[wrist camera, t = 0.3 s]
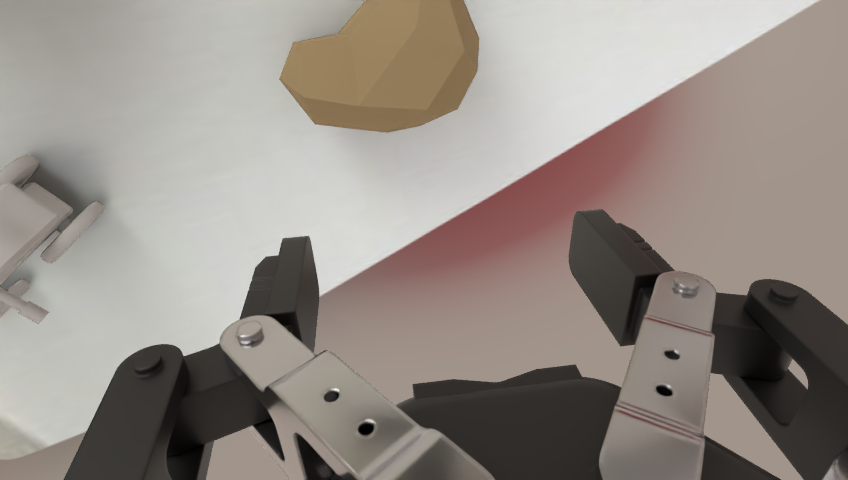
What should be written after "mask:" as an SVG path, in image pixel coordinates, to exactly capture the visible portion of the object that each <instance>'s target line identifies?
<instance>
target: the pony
mask: <svg viewBox="0 0 848 480" xmlns="http://www.w3.org/2000/svg"><path fill="white" fill-rule="evenodd" d="M38 165H39V162H38V160H37V159H36V158H35V157H34V156H32V155H29V154H26V155H24V156H22V157H19V158H17V159H16V160H14V161H13V162H11V163H10V164H9V165H7V166H6V167H5V168H3V169H2V170H1V171H0V285H1V284H2V283H3V282H4V281H5V280H6V279H7V278H8V277H9V276H10V275H11V274H12V272H13V271H14V270H15V269H16V268H17V267H18V266H19V265H20V264H21V263H22V262H23V261H24V260H25V259H26V258H27V257H28V256H29V255H30V254H31V253H32V252H33V251H34V250H35V249H37V248H38V247H39V246H40V245H41V244H42V243H43V242H44V241H45V240H46V239H47V238H48V237H49V236H50V235H51V234H52V233H53V232H55V231H56V230H57V231H59V232H60V234H59V235H58V237H57V238H56V239H55V240H54V241H53V242H52V243H51V244H50V245H49V246H48V247H47V248H46V249H45V250H44V251H43V252H42V254H41V258H42V260H44V261H46V262H47V263H52V262H54V261H56V260H57V259H58V258H59V257H60V256H61V255H62V254H63V253H64V252H65V251H66V250H67V248H68V247H69V246H70V245H71V244H72V243H73V242H74V241H75V240H76V239H77V238H78V237H79V236H80V235H81V234H82V233H83V232H84V231H85V230H86V229H87V228H88V227H89V226H90V225H91V224H92V223H93V222H94V221H95V220H96V219H97V217H98V216H99V215H100V214H101V213H102V212H103V211H104V209H105V208H104V206H103V205H102V204H101V203H99V202H96V201H94V202H93V203H91V204H90V205H89V206H88V207H86V208H85V209H84V210H83V211H82V212H81V213H80V214H79V215H78V216H77V217H76V218H75V219H74V220H73V221H71V220H70V219H68V217H69V216H70V215H71V214H72V213H73V208H72V207H70V206H69V205H67V204H66V203H65V202H63V201H62V200H60V199H59V198H57V197H56V196H54V195H53V194H51V193H50V192H48V191H47V190H45V189H44V188H42V187H41V186H39V185H38V184H36V183H35V182H34V183H28V184H27V185H25V186H24V187H22V188H21V186H22V185H23V184H24V183H25V182H26V181H27V180H28V179H29V178H30V177H31V176H32V174H33V173H34V172H35V170H36V169H37V167H38ZM29 287H30V283H29V282H27V281H26V280H22V279H20V280H19V281H17V282H15V283H14V284H13V285H12V286H11V287H10V288H9V289H8V290H7V291H6V290H4V289H2V288H0V318H1V317H2V315H3V314H4V313H5V312H6V311H7V310H8V309H9V308H10V307H13V308H15V309H17V310H19V312H18V313H19V314H21V315H23V316H25V317H26V318H28V319H30V320H32V321H34V322H36V323H37V324H39V323H40V322H41V321H42V320H43V319H44V317H45V316H46V315H47V314H48V313H49V312H48V311H46V310H44V309H42V308H41V307H39V306H37V305H35V304H34V303H32V302H30V301H29V302H28V303H27V302H25V301H23V300H22V299H20V297H21V296H22V295H23V294H24V293H25V292H26V291H27V290H28V289H29Z"/></svg>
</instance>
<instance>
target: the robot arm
mask: <svg viewBox="0 0 848 480" xmlns="http://www.w3.org/2000/svg"><path fill="white" fill-rule="evenodd" d="M569 265H570V269H571V272H572V274H573V276H574V278H575V279H576V281H577V282H578V284H579V285H580V287H581V288H582V289H583V291H584V293H585V294H586V296H587V297H588V299H589V300H590V302H591V303H592V304H593V306H594V307H595V309H596V310H597V312H598V313H599V315H600V316H601V318H602V319H603V321H604V322H605V324H606V325H607V327H608V328H609V330H610V331H611V333H612V334H613V336H614V337H615V339H616V340H617V342H618V343H619V344H620V346H627V345H635V347H634V350H633V353H632V356H631V360H630V362H629V366H628V369H627V372H626V375H625V379H624V382H623V385H622V388H621V387H619V386H617V385H614V384H611V383H609V382H606V381H602V380H598V379H594V378H587V377H582V376H581V374H580V372H579V370H578V369H577V366H576V365H568V366H560V367H552V368H543V369H536V370H533V371H530V372H527V373H524V374H522V375H519V376H516V377H513V378H510V379H507V380H505V381H502V382H494V383H493V382H481V381H468V380H455V379H452V380H445V381H436V382H427V383H419V384H413V395H414V397H413V398H410V399H408V400H405V401H403V402H401V403H399V404H397V405H395V404H393V403H392V402H391V401H390V400H389V399H387V398H386V397H385V396H384V395H383V394H381V393H380V392H379V391H378V390H377V389H376V388H374V387H373V386H372V385H371V384H370V383H368V382H367V381H366V380H365V379H363V378H362V377H361V376H360V375H359V374H358V373H356V372H355V371H354V370H353V369H352V368H350V367H349V366H348V365H347V364H346V363H344V362H343V361H342V360H341V359H340V358H339V357H337V356H336V355H335V354H334V353H332V352H331V351H328V350H325V351H323V352H321V353H320V354H318V355H316V354H314V347H315V337H316V327H317V316H318V306H319V286H318V279H317V273H316V268H315V262H314V257H313V251H312V246H311V241H310V238H309V236H304V237H293V238H283V240H282V243H281V248H280V252H279V256H269V257H265V258H264V259H263V260H262V261H261V262H260V263H259V264H258V266H257V267H256V268H255V271H254V274H253V277H252V281H251V284H250V287H249V290H248V294H247V297H246V300H245V303H244V307H243V310H242V313H241V317H240V320H238V321H236V322H234V323H233V324H231V325H230V326H228V327H227V328H226V329H225V330H224V332H223V333H222V335H221V337H220V343H219V344H217V345H215V346H213V347H211V348H208V349H205V350H202V351H199V352H196V353H193V354H190V355H187V356H184V357H183V354H182V352H181V350H180V349H179V348H178V347H176V346H173V345H168V344H161V345H154V346H150V347H147V348H144V349H142V350H139V351H137V352H135V353H134V354H132V355H131V356H129V357H128V358H127V359H125V360H124V361H123V362H122V363H121V364H120V365H119V367H118V368H117V370H116V372H115V374H114V376H113V378H112V380H111V382H110V384H109V386H108V388H107V390H106V393H105V395H104V397H103V399H102V401H101V403H100V405H99V407H98V409H97V411H96V413H95V415H94V418H93V420H92V422H91V424H90V426H89V428H88V430H87V432H86V434H85V436H84V438H83V440H82V443H81V445H80V447H79V449H78V451H77V453H76V455H75V457H74V459H73V461H72V463H71V466H70V468H69V470H68V472H67V474H66V476H65V478H64V480H206V476H207V471H208V466H209V462H210V457H211V452H212V447H213V443H214V440H217V439H219V438H222V437H224V436H227V435H229V434H232V433H234V432H237V431H240V430H242V429H245V428H247V427H248V428H249V430H250V431H251V432H252V433H253V434H254V436H255V437H256V438H257V439H258V441H259V442H260V443H261V444H262V446H263V447H264V448H265V449H266V451H267V452H268V453H269V454H270V455H271V457H272V458H273V459H274V460H275V462H276V463H277V464H278V465H279V467H280V468H281V469H282V470H283V471H284V473H285V474H286V476H287V477H288V479H289V480H781V479H779V478H777V477H775V476H774V475H772V474H770V473H769V472H767V471H765V470H764V469H762V468H760V467H758V466H757V465H755V464H753V463H751V462H750V461H748V460H746V459H745V458H743V457H741V456H739V455H738V454H736V453H734V452H733V451H731V450H729V449H727V448H725V447H724V446H722V445H721V444H719V443H717V442H715V441H714V440H712V439H710V438H708V437H707V436H705V435H703V431H704V422H705V414H706V406H707V398H708V390H709V381H710V373H715V374H722V375H723V376H724V378H725V379H726V380H727V382H728V383H729V384H730V385H731V387H732V388H733V389H734V391H735V392H736V393H737V394H738V396H739V397H740V398H741V400H742V401H743V402H744V404H745V405H746V406H747V407H748V409H749V410H750V411H751V412H752V414H753V415H754V416H755V418H756V419H757V420H758V421H759V423H760V424H761V425H762V427H763V428H764V429H765V430H766V432H767V433H768V434H769V436H770V437H771V438H772V439H773V441H774V442H775V443H776V445H777V446H778V447H779V448H780V450H781V451H782V452H783V453H784V455H785V456H786V457H787V459H788V460H789V461H790V462H791V464H792V465H793V466H794V468H795V469H796V470H797V472H798V473H799V474H800V475H801V476H802V478H803V479H804V480H848V325H847V324H846V323H845V322H844V321H843V320H841V319H840V318H839V317H838V316H836V315H835V314H834V313H833V312H831V311H830V310H829V309H828V308H827V307H826V306H824V305H823V304H822V303H821V302H819V301H818V300H817V299H816V298H815V297H813V296H812V295H811V294H810V293H808V292H807V291H805V290H804V289H802V288H800V287H798V286H796V285H793V284H791V283H787V282H784V281H779V280H772V279H764V280H758V281H755V282H753V283H752V284H751V286H750V289H749V291H748V294H747V295H736V294H725V293H717V292H716V290H715V288H714V286H713V285H712V284H711V283H710V282H709V281H707V280H706V279H704V278H702V277H700V276H697V275H695V274H691V273H688V272H682V271H675V270H674V269H673V268H672V267H671V266H670V265H669V264H668V263H667V262H666V261H665V260H664V259H662V257H661V256H660V255H659V254H658V253H657V252H656V251H655V250H652V247H651V246H650V245H649V244H648V243H647V242H645V241H644V239H643V238H642V237H641V236H640V235H639V234H638V233H637V232H636V231H635V230H633V229H631V228H629V227H627V226H625V225H623V224H621V223H617V224H616V223H615V221H614V220H613V219H612V218H611V217H610V216H609V215H608V214H607V213H606V212H605V211H604V210H602V209H598V210H587V211H578V212H576V214H575V216H574V220H573V227H572V235H571V242H570V250H569ZM792 359H794V360H795V361H796V362H797V364H799V366H800V367H801V368H802V369H803V370H804V372H805V373H806V376H807V379H808V390H807V389H806V387H805V386H804V385H803V384H802V383H801V382H800V381H799V380H798V379H797V378H796V377H795V376H794V375H793V374H792V373H791V372H790V371H789V370H788V367H789V365H790V363H791V361H792Z"/></svg>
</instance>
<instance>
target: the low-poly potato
mask: <svg viewBox="0 0 848 480" xmlns="http://www.w3.org/2000/svg"><path fill="white" fill-rule="evenodd" d="M478 49H479V37H478V34H477V32H476V30H475V27H474V25H473V22H472V20H471V17H470V15H469V12H468V10H467V7H466V5H465V3H464V0H366V1H365V2H364V3H363V4H362V6H361V7H360V8H359V9H358V10H357V12H356V13H355V14H354V15H353V16H352V17H351V19H350V20H349V21H348V22H347V23H346V25H345V26H344V27H343V28H342V29H341V31H340V32H339V33H338V34H335V35H330V36H325V37H320V38H314V39H309V40H304V41H299V42H294V43H293V44H292V47H291V50H290V52H289V55H288V57H287V60H286V63H285V65H284V68H283V71H282V73H281V76H280V80H281V82H282V83H283V84H284V85H285V87H286V88H287V89H288V91H289V92H290V93H291V94H292V96H293V97H294V98H295V99H296V101H297V102H298V103H299V105H300V106H301V107H302V108H303V110H304V111H305V112H306V113H307V115H308V116H309V117H310V119H311V120H312V121H313V122H314V124H318V125H327V126H335V127H344V128H352V129H361V130H370V131H378V132H392V131H397V130H402V129H407V128H412V127H417V126H420V125H423V124H425V123H427V122H429V121H432V120H434V119H436V118H438V117H441V116H443V115H445V114H447V113H450V112H452V111H454V110H456V109H458V107H459V105H460V103H461V101H462V99H463V97H464V95H465V93H466V92H467V90H468V88H469V86H470V84H471V82H472V80H473V78H474V76H475V74H476V72H477V68H478Z"/></svg>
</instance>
